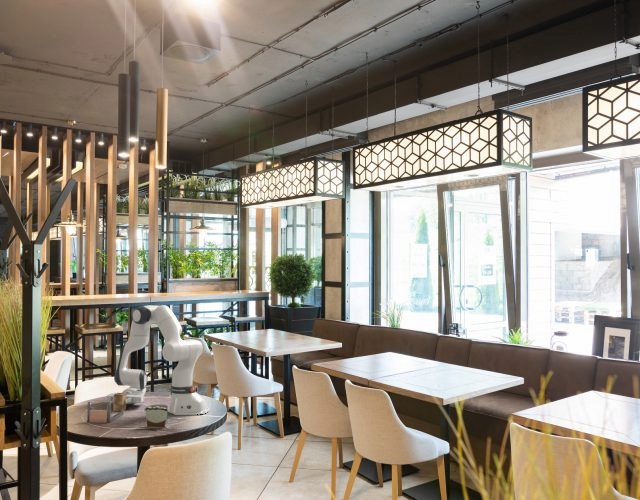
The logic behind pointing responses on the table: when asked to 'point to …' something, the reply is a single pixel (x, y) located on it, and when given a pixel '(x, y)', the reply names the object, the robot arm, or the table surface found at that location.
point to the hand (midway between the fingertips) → (119, 401)
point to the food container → (156, 415)
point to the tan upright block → (119, 402)
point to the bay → (101, 414)
